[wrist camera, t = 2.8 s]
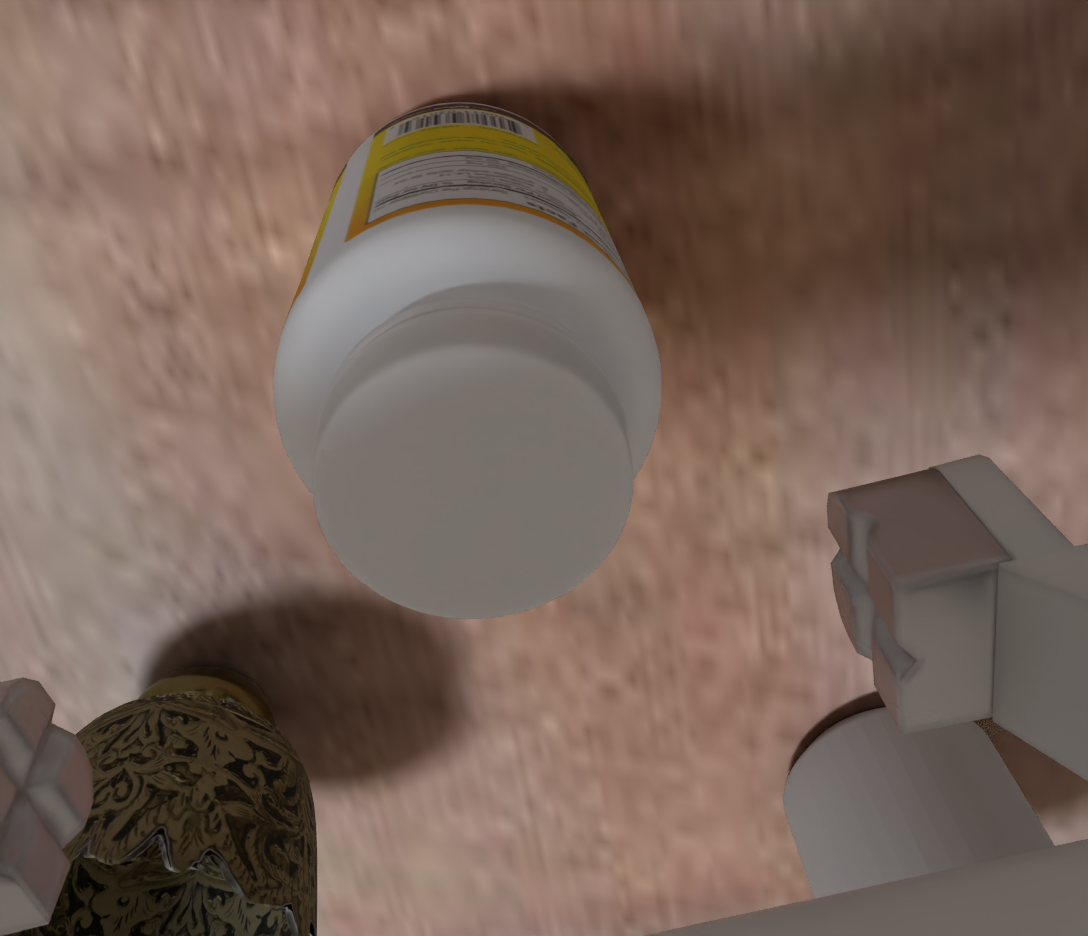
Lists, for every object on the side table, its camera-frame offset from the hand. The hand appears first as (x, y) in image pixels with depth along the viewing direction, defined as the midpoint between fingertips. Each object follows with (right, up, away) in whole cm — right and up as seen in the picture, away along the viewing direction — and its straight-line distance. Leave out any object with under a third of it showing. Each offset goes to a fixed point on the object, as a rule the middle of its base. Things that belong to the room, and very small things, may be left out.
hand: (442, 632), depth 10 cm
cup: (-8, -5, +17) cm, 19 cm away
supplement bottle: (-1, +7, +11) cm, 13 cm away
